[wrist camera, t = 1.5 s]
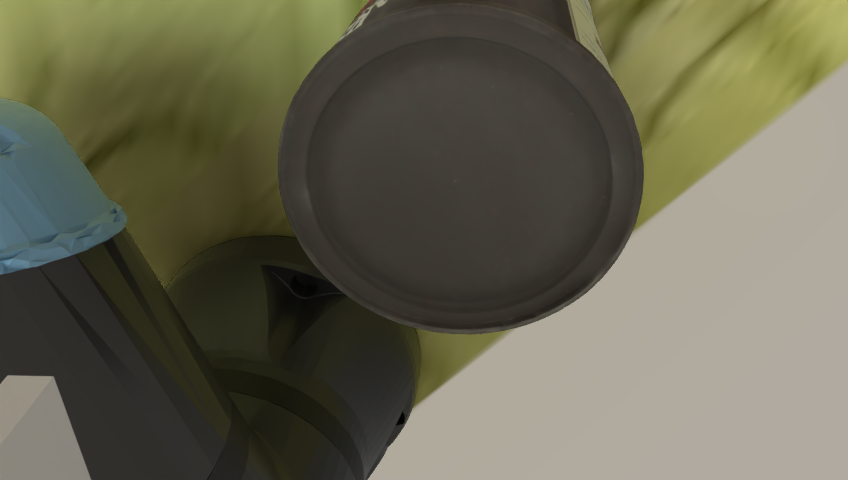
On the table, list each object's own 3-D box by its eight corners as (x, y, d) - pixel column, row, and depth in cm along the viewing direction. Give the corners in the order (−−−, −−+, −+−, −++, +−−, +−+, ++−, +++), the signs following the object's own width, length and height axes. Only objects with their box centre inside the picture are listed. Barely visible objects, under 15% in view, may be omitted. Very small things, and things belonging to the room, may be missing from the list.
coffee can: (316, 53, 34) (207, 192, 22) (473, -135, 30) (445, -90, 18) (480, 196, 37) (463, 389, 25) (646, 44, 32) (725, 190, 20)
